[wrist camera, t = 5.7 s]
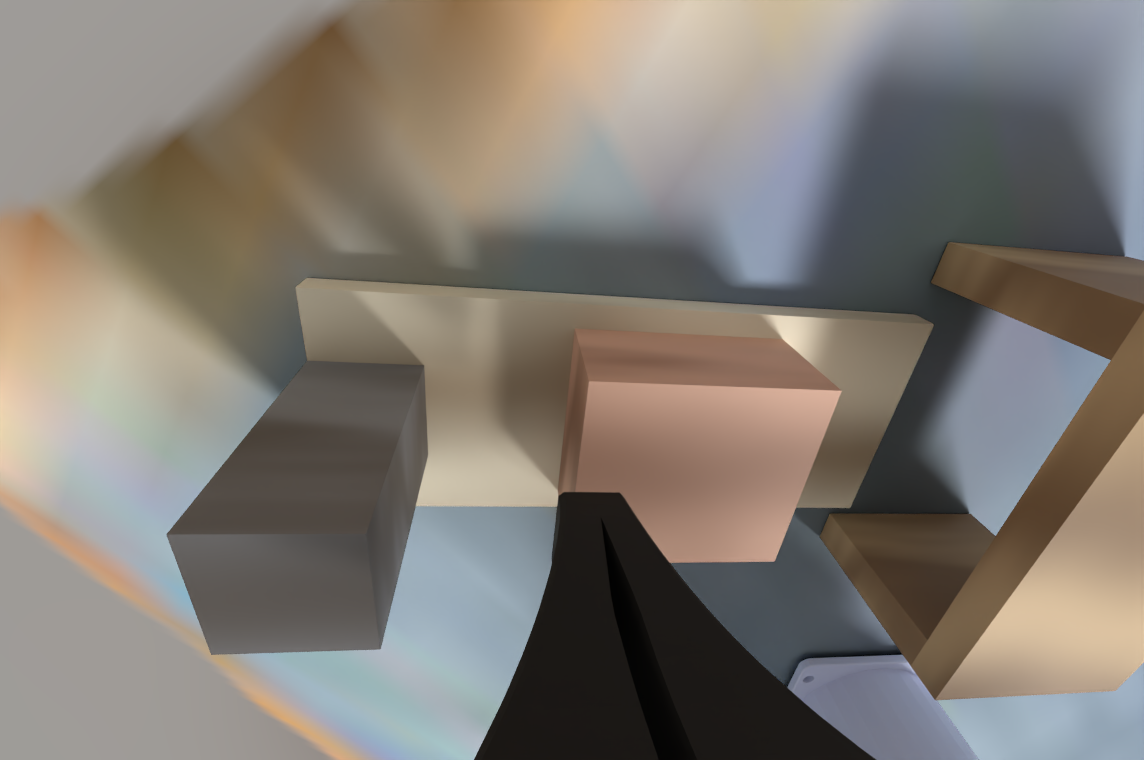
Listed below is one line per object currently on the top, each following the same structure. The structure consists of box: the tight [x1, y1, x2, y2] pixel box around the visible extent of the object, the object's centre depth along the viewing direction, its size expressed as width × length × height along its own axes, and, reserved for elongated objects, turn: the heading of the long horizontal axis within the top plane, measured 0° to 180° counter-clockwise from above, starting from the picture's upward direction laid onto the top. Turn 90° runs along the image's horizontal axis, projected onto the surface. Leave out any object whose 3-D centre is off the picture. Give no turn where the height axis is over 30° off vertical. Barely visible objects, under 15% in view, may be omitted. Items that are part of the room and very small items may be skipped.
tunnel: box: [820, 242, 1144, 700], centre depth 15 cm, size 11×6×6 cm, turn 175°
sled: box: [167, 278, 934, 655], centre depth 13 cm, size 7×18×7 cm, turn 85°
